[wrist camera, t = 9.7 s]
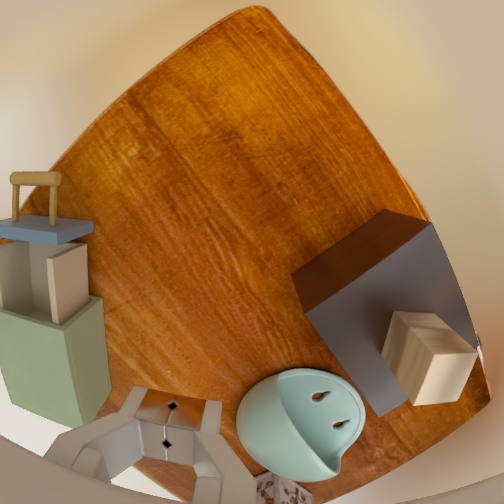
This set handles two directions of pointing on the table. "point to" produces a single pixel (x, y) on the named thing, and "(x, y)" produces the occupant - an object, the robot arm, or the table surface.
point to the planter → (300, 423)
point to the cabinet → (57, 364)
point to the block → (427, 357)
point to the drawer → (43, 258)
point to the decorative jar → (280, 490)
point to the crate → (379, 297)
